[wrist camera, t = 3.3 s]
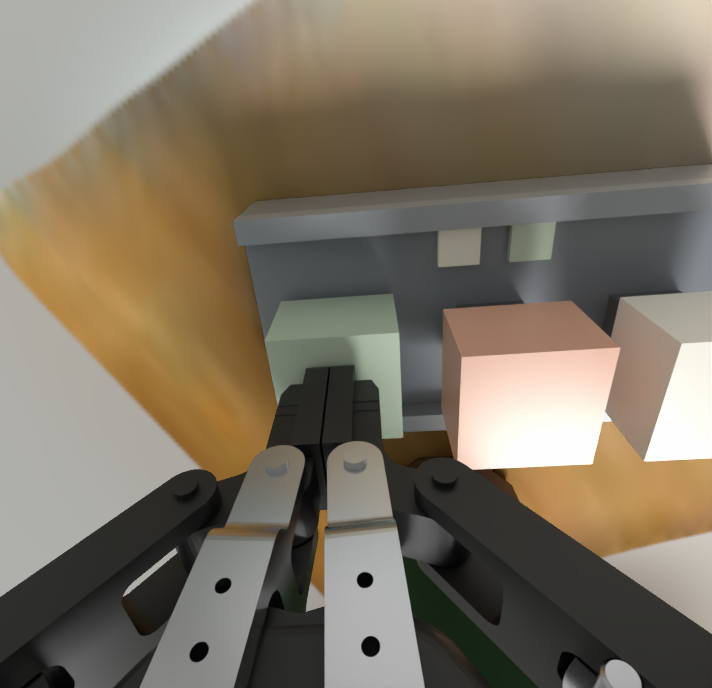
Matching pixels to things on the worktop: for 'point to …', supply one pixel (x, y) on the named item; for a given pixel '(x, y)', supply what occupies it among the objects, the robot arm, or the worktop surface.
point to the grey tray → (483, 253)
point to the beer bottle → (463, 614)
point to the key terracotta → (524, 384)
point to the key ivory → (664, 375)
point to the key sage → (340, 346)
